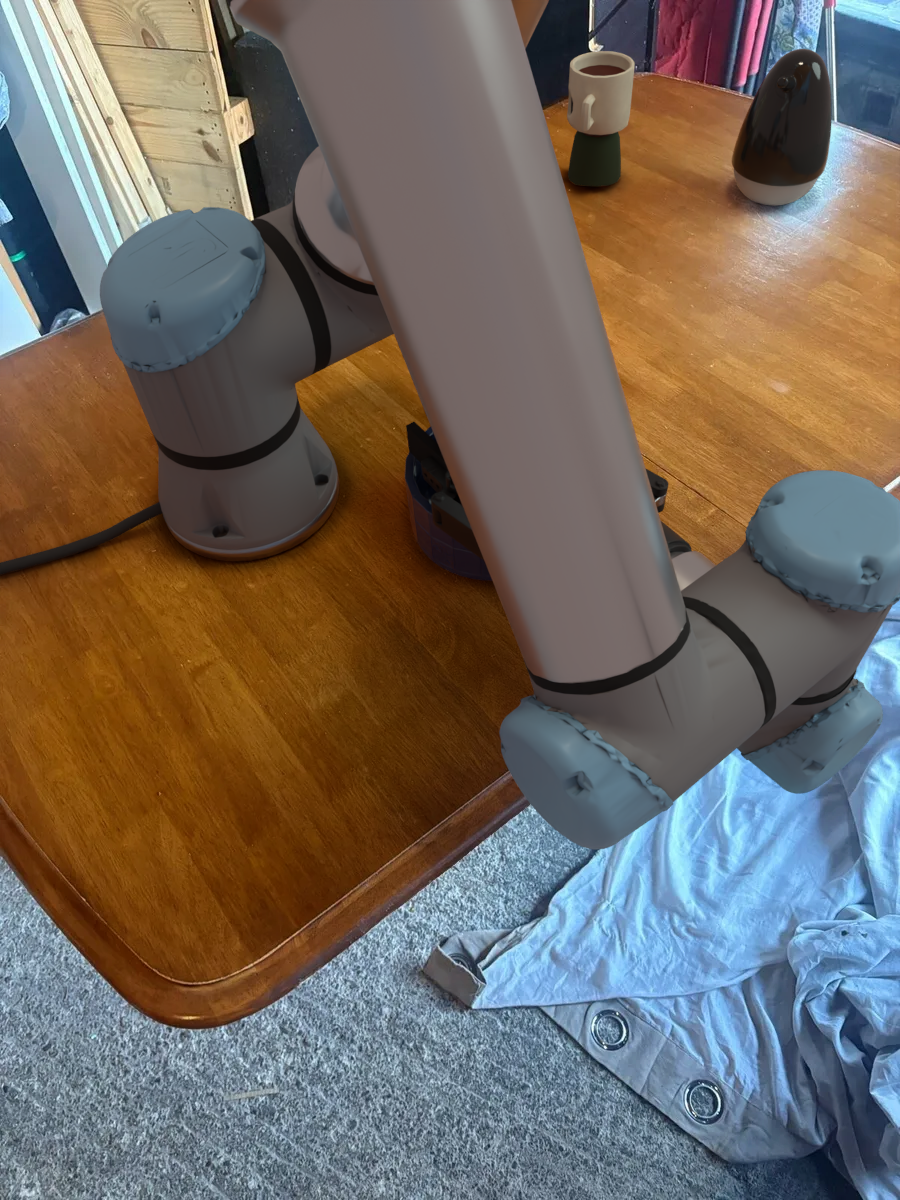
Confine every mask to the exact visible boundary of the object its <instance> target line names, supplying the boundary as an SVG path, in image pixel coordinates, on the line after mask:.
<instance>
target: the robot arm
mask: <svg viewBox="0 0 900 1200" xmlns="http://www.w3.org/2000/svg"><path fill="white" fill-rule="evenodd" d="M549 1H550V0H226V2H227V4H228V7H229V9H230V11H231V14H232V17H233V20H234V21H235V23H236V24H237V25H239V26H241V27H243V28H245V29H247V30H248V31H250V32H252V33H254V34H256V35H258V36H260V37H262V38H264V39H266V40H267V41H269V42H270V43H272V45H274V47H276V48H277V49H278V50H279V51H280V53H281V54H282V57H283V60H284V61H285V65H286V67H287V69H288V72H289V74H290V77H291V79H292V82H293V84H294V87H295V89H296V92H297V94H298V97H299V99H300V102H301V105H302V107H303V108H304V112H305V114H306V117H307V119H308V122H309V124H310V127H311V130H312V132H313V134H314V137H315V140H316V142H317V144H318V146H317V147H315V149H314V150H313V151H312V152H311V153H310V154H309V155H308V157H307V158H306V159H305V160H304V162H303V164H302V166H301V168H300V170H299V173H298V175H297V178H296V181H295V187H294V192H293V197H292V201H291V202H290V203H288V204H287V205H285V206H281V207H280V208H277V209H274V210H272V211H270V212H268V213H266V214H263V215H260V216H258V217H255V218H253V219H252V220H250V219H248V217H246V216H245V215H244V214H242V213H240V212H238V211H235V210H232V209H229V208H224V207H219V206H217V207H216V206H215V207H214V206H205V207H202V208H201V209H200V210H199V211H197V212H196V211H195V212H194V211H193V210H191V209H188V208H187V209H183V210H179V211H176V212H173V213H170V214H167V215H165V216H163V217H160V218H157V219H156V220H154V221H151V222H150V223H148V224H146V225H144V226H143V227H141V228H140V229H138V230H136V231H135V232H134V233H133V234H131V235H130V236H129V237H128V238H127V239H126V240H124V241H123V242H122V243H121V244H120V245H119V246H118V248H117V249H116V250H115V251H114V252H113V253H112V255H111V257H110V258H109V260H108V262H107V267H106V268H105V270H104V271H103V273H102V276H101V277H100V278H101V279H100V284H99V299H100V300H99V301H100V305H101V309H102V312H103V315H104V319H105V321H106V324H107V327H108V331H109V334H110V340H111V344H112V348H113V350H114V353H115V354H116V356H117V357H118V359H119V360H120V361H121V362H122V364H123V367H124V370H125V371H126V374H127V376H128V379H129V381H130V383H131V386H132V388H133V390H134V393H135V395H136V397H137V400H138V403H139V404H140V407H141V409H142V411H143V414H144V417H145V419H146V422H147V424H148V426H149V428H150V430H151V433H152V435H153V438H154V440H155V443H156V445H157V448H158V451H157V452H158V453H157V454H158V465H157V467H158V469H157V470H158V471H157V472H158V473H157V475H158V476H157V478H158V481H157V483H158V484H157V485H158V486H157V489H158V491H157V492H158V493H157V495H158V502H156V503H153V504H151V505H150V506H147V507H145V508H143V509H142V510H140V511H137V512H136V513H134V514H132V515H130V516H127V517H126V518H124V519H122V520H120V521H119V522H117V523H115V524H114V525H112V526H110V527H107V528H106V529H104V530H101V531H99V532H96V533H94V534H91V535H89V536H86V537H83V538H80V539H77V540H74V541H71V542H69V543H65V544H63V545H59V546H56V547H53V548H49V549H46V550H41V551H39V552H34V553H31V554H27V555H24V556H23V555H22V556H19V557H16V558H12V559H8V560H4V561H0V576H1V575H5V574H9V573H13V572H16V571H21V570H24V569H28V568H32V567H35V566H39V565H43V564H46V563H49V562H53V561H57V560H61V559H63V558H66V557H70V556H73V555H75V554H78V553H82V552H84V551H87V550H91V549H93V548H95V547H98V546H100V545H103V544H105V543H107V542H110V541H112V540H114V539H116V538H118V537H120V536H122V535H124V534H126V533H127V532H128V531H130V530H132V529H135V528H136V527H138V526H140V525H142V524H144V523H146V522H148V521H150V520H152V519H155V518H156V517H158V516H159V515H162V517H163V519H164V522H165V524H166V527H167V528H168V530H169V532H170V534H171V535H172V536H173V538H174V539H175V540H176V541H177V542H178V543H179V544H180V545H181V546H183V547H184V548H185V549H187V550H188V551H190V552H192V553H194V554H197V555H199V556H201V557H204V558H208V559H212V560H217V561H223V562H246V561H247V562H248V561H255V560H260V559H261V560H262V559H264V558H268V557H272V556H276V555H279V554H280V553H283V552H286V551H288V550H290V549H292V548H294V547H296V546H298V545H300V544H301V543H303V542H304V541H306V540H307V539H309V538H310V537H311V536H312V535H314V534H316V532H317V531H318V530H320V528H321V527H322V526H323V525H324V524H325V523H326V521H327V520H328V519H329V518H330V516H331V515H332V513H333V511H334V509H335V508H336V505H337V502H338V500H339V495H340V477H339V472H338V468H337V464H336V460H335V458H334V456H333V454H332V452H331V450H330V448H329V446H328V445H327V443H326V441H325V440H324V438H323V437H322V436H321V434H320V433H319V432H318V430H317V428H316V427H315V426H314V424H313V423H312V422H311V420H310V419H309V418H308V416H307V415H306V413H305V412H304V411H303V409H302V408H301V404H300V401H299V396H298V393H297V387H296V384H297V383H299V382H301V381H302V380H304V379H306V378H309V377H310V376H312V375H315V374H316V373H318V372H320V371H322V370H325V369H326V368H328V367H329V366H332V365H334V364H336V363H338V362H340V361H342V360H344V359H346V358H348V357H350V356H352V355H354V354H356V353H358V352H360V351H363V350H365V349H366V348H368V347H370V346H373V345H374V344H377V343H378V342H380V341H382V340H384V339H386V338H389V337H391V336H393V335H394V338H395V340H396V342H397V346H398V347H399V348H398V349H399V350H400V352H401V355H402V357H403V361H404V363H405V365H406V368H407V370H408V373H409V376H410V377H411V381H412V383H413V385H414V388H415V390H416V392H417V396H418V398H419V401H420V402H421V405H422V408H423V411H424V412H425V415H426V417H427V420H428V423H429V425H430V426H431V428H432V430H433V433H434V435H435V438H436V440H437V442H436V441H435V440H433V439H432V438H431V437H430V436H429V435H428V434H427V433H426V432H425V431H426V430H424V429H423V428H422V427H421V426H420V425H419V424H418V423H417V422H415V421H412V422H410V423H408V424H406V425H405V429H406V437H407V445H408V453H409V452H410V453H411V454H412V455H413V456H414V457H415V458H416V459H417V460H418V461H419V462H420V463H421V466H422V475H423V478H424V480H425V481H426V482H427V483H428V484H429V485H430V486H431V487H432V488H433V489H434V490H435V491H436V492H437V493H435V494H433V495H432V496H431V505H432V515H433V523H434V525H435V526H437V527H438V528H439V529H441V530H442V531H444V532H445V533H446V534H448V535H449V536H451V537H452V538H453V539H455V540H456V541H457V542H459V543H460V544H462V545H463V546H464V547H466V548H467V549H469V550H470V551H471V552H473V553H474V554H475V555H477V556H478V557H480V558H481V559H482V560H484V561H485V563H486V566H487V568H488V571H489V573H490V576H491V578H492V581H491V582H492V583H493V586H494V589H495V591H496V594H497V596H498V598H499V600H500V603H501V606H502V609H503V611H504V613H505V616H506V618H507V621H508V623H509V626H510V628H511V630H512V631H511V632H512V633H513V636H514V638H515V641H516V644H517V647H518V649H519V652H520V653H521V656H522V659H523V663H524V666H525V668H526V671H527V673H528V676H529V679H530V683H531V686H532V690H533V694H530V695H528V696H525V697H523V698H520V703H519V705H518V706H516V707H515V709H513V710H512V711H511V712H510V713H508V714H507V715H506V716H505V717H504V719H502V722H501V723H500V727H499V732H498V733H499V738H500V752H501V755H502V758H503V761H504V764H505V765H506V767H507V769H508V772H509V773H510V775H511V777H512V779H513V781H514V782H515V784H516V786H517V787H518V788H519V790H520V792H521V793H522V794H523V796H524V798H525V799H526V800H527V802H528V803H529V804H530V806H532V808H533V809H534V810H535V811H536V813H537V814H538V815H539V816H540V817H541V818H542V819H543V820H544V821H545V823H547V824H548V825H549V826H550V827H551V828H552V829H554V830H555V831H556V832H557V833H559V834H560V835H561V836H563V837H564V838H566V839H567V840H569V841H570V842H572V843H573V844H575V845H577V846H579V847H581V848H585V849H589V850H605V849H609V848H610V847H613V846H615V845H617V844H619V842H621V841H622V840H623V839H625V838H626V837H628V836H630V835H631V834H632V833H634V832H636V831H637V830H638V829H639V828H641V827H643V826H644V825H646V824H647V823H648V822H650V821H651V820H653V819H654V818H655V817H657V816H658V815H660V814H661V813H663V812H666V811H669V809H670V808H671V807H672V806H673V805H674V802H675V801H677V800H678V799H679V798H680V797H682V796H683V795H684V794H685V793H686V792H687V791H688V790H690V789H691V788H692V787H693V786H694V785H696V783H698V782H699V781H700V780H701V779H702V778H704V777H705V776H706V775H707V774H709V773H710V772H711V771H712V770H713V769H714V768H715V767H716V766H718V765H719V764H720V763H721V762H723V761H724V760H725V759H726V758H727V757H729V755H731V754H732V753H733V752H734V751H735V750H736V749H737V750H738V752H740V756H742V758H743V759H745V760H746V761H749V762H750V763H751V764H752V765H754V766H755V767H756V768H757V769H758V770H759V771H761V772H762V773H763V774H765V775H766V776H767V777H768V778H769V779H771V780H772V781H773V783H775V784H776V785H779V787H780V788H782V789H783V790H785V791H786V792H788V793H790V794H796V795H801V794H808V793H810V792H813V791H815V790H816V789H818V788H819V787H821V786H823V785H824V784H825V783H827V782H828V781H829V780H830V779H832V778H833V777H834V776H836V775H837V774H838V773H839V772H840V771H841V770H842V769H843V768H845V767H846V766H847V765H848V764H849V763H850V762H851V761H852V760H853V759H854V758H855V757H856V756H857V755H858V754H859V753H860V752H861V751H862V750H863V749H864V747H865V746H866V745H867V744H869V742H870V741H871V739H872V738H874V735H875V734H876V733H877V731H878V729H879V728H880V727H881V725H882V723H883V720H884V712H883V711H884V710H883V706H882V704H881V702H880V701H879V700H878V699H877V698H876V697H875V696H874V695H873V694H872V693H871V692H870V691H868V690H867V689H866V687H865V684H864V682H862V681H860V680H859V679H858V678H855V676H856V674H857V670H858V668H859V665H860V664H861V662H862V660H863V659H864V657H865V655H866V653H867V651H868V650H869V648H870V647H871V644H872V642H873V641H874V639H875V637H876V636H877V634H878V632H879V630H880V629H881V627H882V625H883V623H884V621H885V620H886V618H887V617H888V614H889V613H890V611H891V609H892V608H893V606H894V605H896V604H897V603H898V602H900V500H899V498H898V497H896V496H895V495H893V494H892V493H891V492H887V491H886V490H885V488H883V487H880V486H877V485H876V484H875V483H874V482H873V481H872V480H869V479H867V478H865V477H862V476H859V475H856V474H852V473H849V472H845V471H839V470H838V471H837V470H832V469H831V470H828V469H820V470H819V469H816V470H807V471H801V472H798V473H794V474H791V475H789V476H787V477H784V478H782V479H781V480H779V481H777V482H776V483H774V484H773V485H771V487H770V488H769V489H767V491H766V492H765V494H764V495H763V496H762V498H761V500H760V502H759V504H758V506H757V508H756V510H755V513H754V514H753V515H752V516H751V517H750V521H748V524H747V526H746V529H745V533H744V534H745V540H744V542H743V543H742V545H740V547H739V548H738V549H736V551H734V552H733V553H732V554H730V555H729V556H727V557H726V558H724V559H723V560H722V561H720V562H719V563H718V564H715V563H714V562H713V561H712V560H710V559H709V558H708V557H707V556H705V555H704V553H702V552H699V551H697V550H692V547H691V545H690V543H689V542H687V540H685V539H684V538H683V537H682V536H680V535H679V534H678V533H677V532H676V531H675V530H673V529H672V528H671V527H669V526H668V525H667V524H666V523H665V522H663V521H662V520H661V517H660V513H661V512H663V511H664V509H665V505H666V500H667V494H668V490H669V481H668V480H667V479H666V478H664V477H662V476H660V475H658V474H657V473H655V472H653V471H651V470H650V469H648V468H646V465H645V461H644V458H643V455H642V451H641V448H640V444H639V441H638V437H637V434H636V430H635V427H634V423H633V419H632V416H631V413H630V409H629V406H628V402H627V398H626V396H625V392H624V388H623V385H622V382H621V378H620V375H619V371H618V368H617V364H616V360H615V357H614V354H613V350H612V347H611V344H610V339H609V336H608V333H607V329H606V325H605V323H604V318H603V315H602V312H601V309H600V305H599V302H598V298H597V294H596V291H595V286H594V284H593V280H592V277H591V274H590V270H589V267H588V263H587V259H586V256H585V253H584V250H583V249H584V248H583V245H582V241H581V238H580V235H579V232H578V228H577V225H576V221H575V218H574V214H573V210H572V207H571V204H570V200H569V196H568V194H567V190H566V187H565V183H564V180H563V177H562V176H563V175H562V173H561V169H560V165H559V161H558V159H557V155H556V152H555V148H554V145H553V141H552V138H551V134H550V131H549V127H548V123H547V120H546V116H545V113H544V110H543V107H542V103H541V99H540V96H539V92H538V89H537V85H536V83H535V77H534V75H533V72H532V68H531V65H530V61H529V57H528V53H527V51H526V49H527V47H528V44H529V42H530V40H531V38H532V37H533V34H534V32H535V30H536V28H537V26H538V24H539V22H540V20H541V18H542V16H543V14H544V12H545V10H546V8H547V5H548V3H549Z"/></svg>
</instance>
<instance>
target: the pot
mask: <svg viewBox="0 0 900 1200" xmlns="http://www.w3.org/2000/svg"><path fill="white" fill-rule="evenodd" d="M424 431H425V432H426V433H427V434H428V435H429V436H430V437H431V438H432V439H433V440H435V441H436V442H437V440H436V438H435V435H434V433H433V430H432V428H431V425H430V426H429V427H428V428H427V429H425V430H424ZM404 483H405V491H406V496H407V497H406V498H407V499H406V500H407V505H408V506H407V507H408V513H409V519H410V526H411V528H412V534H413V536H414V540H415V542H416V543H417V545H418V546H419V548H420V550H421V551H422V552H423V554H424V555H425V556H426V557H427V558H429V560H430V561H432V562H433V563H434V564H435V565H437V566H438V567H440V568H442V569H443V570H445V571H447V572H449V573H451V574H454V575H456V576H459V577H463V578H466V579H470V580H476V581H486V582H487V581H489V582H493V581H492V578H491V576H490V573H489V571H488V568H487V566H486V563H485V561H484V560H482V559H481V558H480V557H478V556H477V555H475V554H474V553H473V552H471V551H470V550H469V549H467V548H466V547H464V546H463V545H462V544H460V543H459V542H457V541H456V540H455V539H453V538H452V537H451V536H449V535H448V534H446V533H445V532H444V531H442V530H441V529H439V528H438V527H437V526H435V525H434V523H433V515H432V505H431V496H432V495H433V494H435V493H437V492H436V491H435V490H434V489H433V488H432V487H431V486H430V485H429V484H428V483H427V482H426V481H425V480H424V478H423V475H422V466H421V463H420V462H419V461H418V460H417V459H416V458H415V457H414V456H413V455H412V454H411V453H410V452H409V451H408V454H407V456H406V457H405V465H404Z"/></svg>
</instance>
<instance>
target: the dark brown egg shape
mask: <svg viewBox="0 0 900 1200" xmlns="http://www.w3.org/2000/svg"><path fill="white" fill-rule="evenodd" d="M831 87H832V86H831V81H830V75H829V71H828V68H827V65H826V63H825V60H824V59H823V57H822V56H821V55H820V54H818V53H817V52H816V51H814V50H812V49H808V48H797V49H794V50H791V51H788V52H786V53H785V54H784V55H782V56H781V57H780V58H779V59H778V60H777V61H776V62H775V63H774V65H772V67H771V68H770V69H769V71H768V73H767V74H766V75H765V77H764V79H762V82H761V83H760V85H759V87H758V89H757V91H756V93H755V95H754V97H753V99H752V101H751V103H750V105H749V108H748V110H747V111H746V114H745V117H744V119H743V121H742V124H741V127H740V130H739V132H738V135H737V138H736V140H735V143H734V148H733V151H732V156H731V166H732V168H733V176H734V180H735V183H736V185H737V188H738V189H739V191H740V192H741V193H742V195H743V196H745V198H747V199H749V200H750V201H752V202H754V203H757V204H760V205H764V206H773V207H774V206H784V205H789V204H791V203H794V202H796V201H798V200H800V199H801V198H803V197H805V195H807V194H808V193H809V192H810V190H811V189H812V188H813V187H814V186H815V184H816V183H817V181H818V180H819V177H820V176H821V175H823V173H824V172H825V169H826V166H827V163H828V158H829V153H830V152H829V151H830V145H831V135H832V119H833V118H832V117H833V115H832V111H833V110H832V109H833V108H832V107H833V106H832V88H831Z"/></svg>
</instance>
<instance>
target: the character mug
mask: <svg viewBox="0 0 900 1200" xmlns="http://www.w3.org/2000/svg"><path fill="white" fill-rule="evenodd" d="M635 64H636V63H635V61H634V60H633V58H632V57H631V56H629V55H627V54H626V53H625V54H624V53H622V52H618V51H617V52H616V51H612V50H611V51H610V50H605V51H604V50H598V51H590V52H586V53H583V54H579V55H578V56H575V57H574V58H572V59H571V60H570V63H569V74H568V75H569V77H568V100H567V103H568V104H567V113H566V118H567V122H568V123H569V125H570V127H572V128H573V129H574V130H576V132H575V134H574V136H573V142H572V147H571V152H570V156H569V162H568V169H567V178H568V181H570V182H571V183H572V184H574V185H575V186H582V187H605V186H606V187H607V186H611V185H613V184H616V183H618V182H619V180H620V178H621V177H622V174H621V173H622V155H621V136H620V133H619V132H621V131H623V130H624V129H625V128H627V127H628V126H629V121H630V116H631V106H632V97H633V88H634V87H633V86H634V76H635V67H636V65H635Z"/></svg>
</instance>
